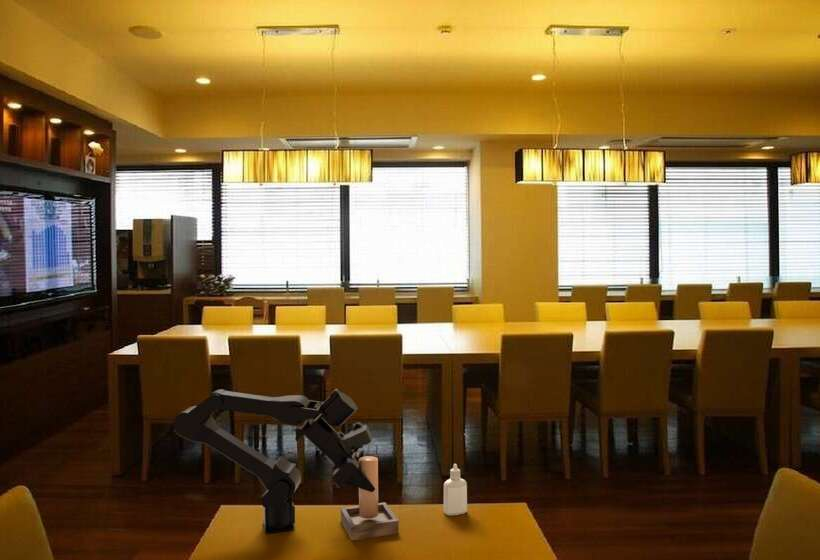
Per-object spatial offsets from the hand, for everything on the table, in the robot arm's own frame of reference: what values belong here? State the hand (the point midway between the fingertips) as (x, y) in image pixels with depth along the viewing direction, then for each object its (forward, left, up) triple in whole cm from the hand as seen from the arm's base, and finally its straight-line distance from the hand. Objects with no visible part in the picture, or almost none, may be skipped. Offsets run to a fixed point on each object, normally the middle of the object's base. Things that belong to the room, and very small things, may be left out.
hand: (374, 486), depth 147 cm
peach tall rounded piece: (-1, 0, -7) cm, 7 cm away
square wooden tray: (-1, 0, -9) cm, 10 cm away
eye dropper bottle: (+21, +1, -10) cm, 23 cm away
